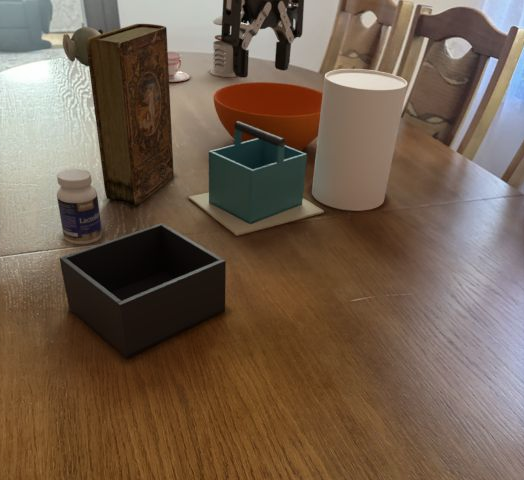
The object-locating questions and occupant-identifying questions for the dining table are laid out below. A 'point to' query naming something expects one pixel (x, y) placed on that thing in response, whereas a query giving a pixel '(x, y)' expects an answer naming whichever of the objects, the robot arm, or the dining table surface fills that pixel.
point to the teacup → (175, 68)
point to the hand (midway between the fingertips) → (261, 72)
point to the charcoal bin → (144, 287)
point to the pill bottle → (78, 207)
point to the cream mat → (243, 227)
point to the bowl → (271, 110)
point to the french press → (222, 56)
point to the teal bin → (256, 175)
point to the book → (132, 109)
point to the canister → (357, 137)
